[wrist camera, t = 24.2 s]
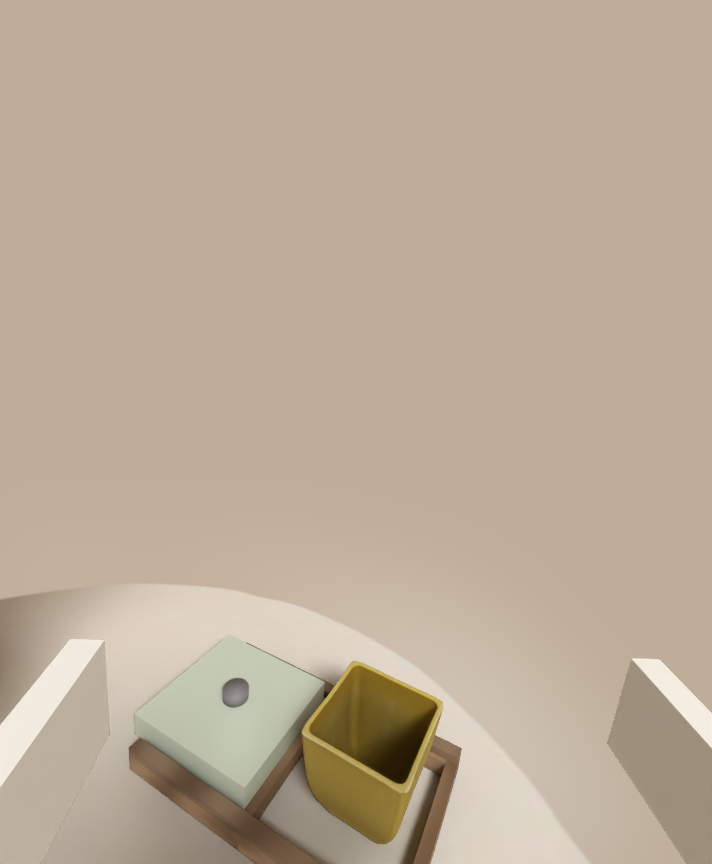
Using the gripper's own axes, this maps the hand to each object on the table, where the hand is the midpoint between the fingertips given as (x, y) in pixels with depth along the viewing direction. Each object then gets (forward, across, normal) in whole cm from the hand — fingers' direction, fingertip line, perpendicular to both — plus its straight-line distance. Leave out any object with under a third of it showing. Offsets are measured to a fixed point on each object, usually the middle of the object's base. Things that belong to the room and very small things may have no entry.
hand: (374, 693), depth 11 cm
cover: (+26, +8, +28) cm, 39 cm away
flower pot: (+19, -4, +30) cm, 36 cm away
